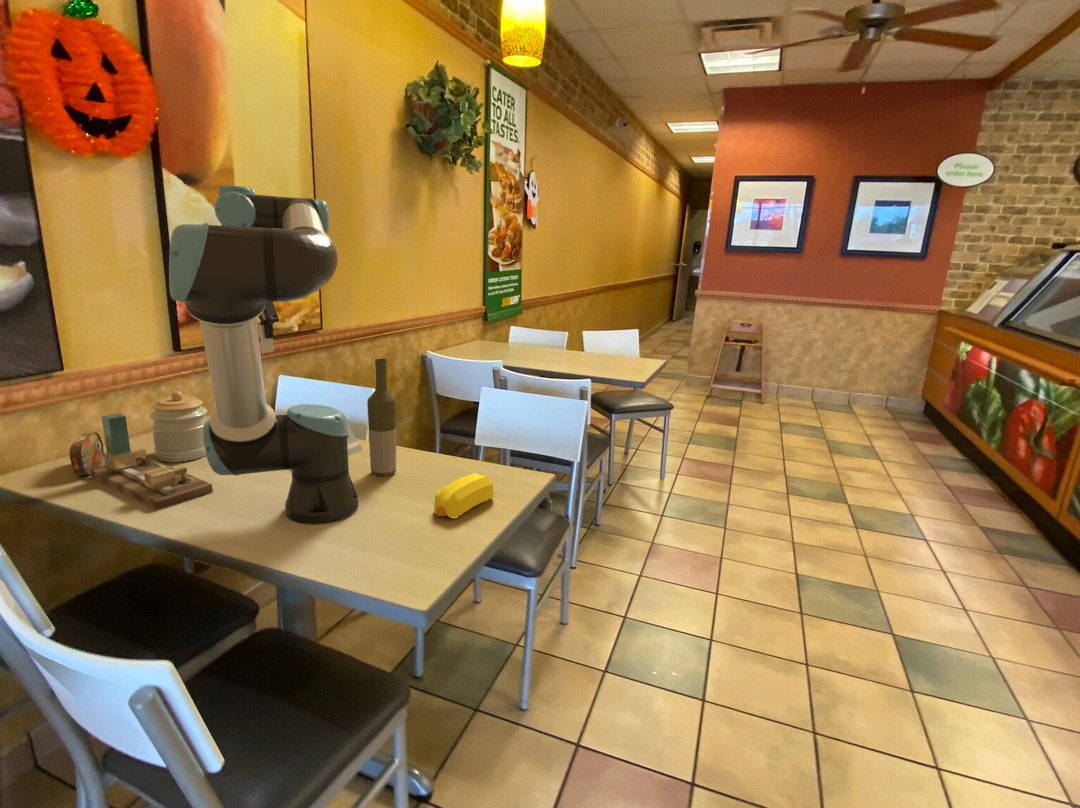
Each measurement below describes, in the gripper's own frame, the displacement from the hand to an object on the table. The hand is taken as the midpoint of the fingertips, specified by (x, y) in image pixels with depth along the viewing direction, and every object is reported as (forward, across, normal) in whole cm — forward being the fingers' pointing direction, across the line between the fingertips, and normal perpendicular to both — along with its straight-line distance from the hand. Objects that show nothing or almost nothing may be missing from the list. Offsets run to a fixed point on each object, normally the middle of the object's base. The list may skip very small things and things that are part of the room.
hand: (250, 348), depth 138 cm
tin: (+32, +33, +24) cm, 52 cm away
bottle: (+32, -25, -18) cm, 44 cm away
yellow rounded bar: (+32, -54, -15) cm, 65 cm away
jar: (+32, +26, +5) cm, 41 cm away
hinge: (+32, -5, -18) cm, 37 cm away
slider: (+29, +21, +20) cm, 41 cm away
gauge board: (+32, +12, +20) cm, 39 cm away
